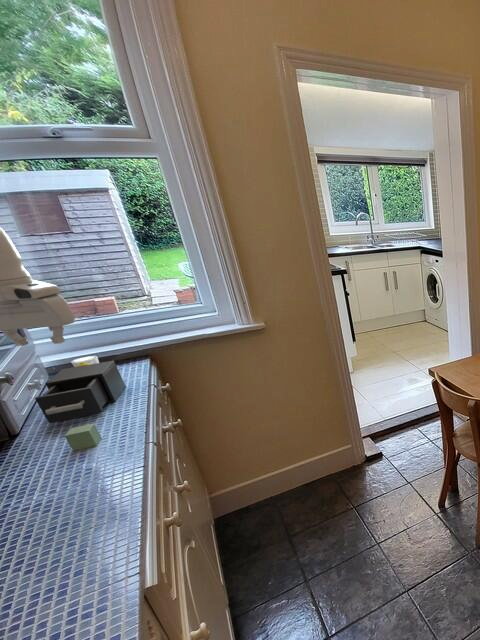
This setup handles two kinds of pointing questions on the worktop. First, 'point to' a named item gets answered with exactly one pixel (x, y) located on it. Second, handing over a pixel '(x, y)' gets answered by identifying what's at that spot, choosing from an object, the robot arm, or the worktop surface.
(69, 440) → the block
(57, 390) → the drawer
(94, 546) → the worktop surface
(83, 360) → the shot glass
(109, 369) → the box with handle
